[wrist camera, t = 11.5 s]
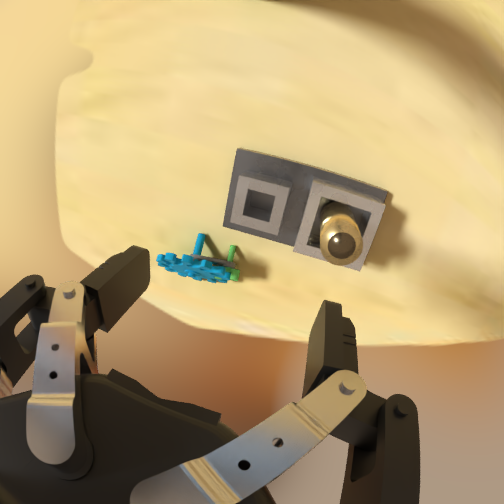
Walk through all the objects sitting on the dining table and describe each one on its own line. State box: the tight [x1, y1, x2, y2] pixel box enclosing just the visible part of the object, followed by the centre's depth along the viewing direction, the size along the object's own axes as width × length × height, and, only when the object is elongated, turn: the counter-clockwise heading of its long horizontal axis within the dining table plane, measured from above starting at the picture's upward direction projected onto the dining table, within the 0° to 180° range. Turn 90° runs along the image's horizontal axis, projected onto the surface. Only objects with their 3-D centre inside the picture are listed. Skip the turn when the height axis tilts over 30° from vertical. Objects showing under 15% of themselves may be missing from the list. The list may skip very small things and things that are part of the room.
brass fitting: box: [320, 202, 363, 266], centre depth 27 cm, size 4×4×8 cm
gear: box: [156, 233, 240, 283], centre depth 36 cm, size 11×6×10 cm
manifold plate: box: [223, 148, 387, 271], centre depth 30 cm, size 10×18×5 cm, turn 79°
